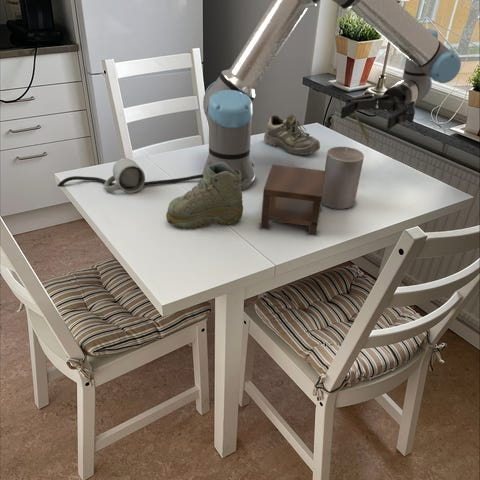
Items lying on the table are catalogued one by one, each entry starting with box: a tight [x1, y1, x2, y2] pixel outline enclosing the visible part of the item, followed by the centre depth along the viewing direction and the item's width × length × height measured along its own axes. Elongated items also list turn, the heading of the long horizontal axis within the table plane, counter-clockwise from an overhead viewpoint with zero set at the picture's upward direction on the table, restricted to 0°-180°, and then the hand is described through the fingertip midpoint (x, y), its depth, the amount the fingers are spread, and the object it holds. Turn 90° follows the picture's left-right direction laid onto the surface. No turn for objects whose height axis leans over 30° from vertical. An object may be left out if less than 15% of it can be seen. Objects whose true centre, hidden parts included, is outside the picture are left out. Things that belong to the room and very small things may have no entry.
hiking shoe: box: [263, 113, 321, 155], centre depth 168 cm, size 9×21×12 cm, turn 51°
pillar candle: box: [321, 146, 365, 210], centre depth 136 cm, size 10×10×15 cm
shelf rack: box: [260, 164, 326, 236], centre depth 130 cm, size 14×15×11 cm
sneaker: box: [165, 162, 244, 229], centre depth 125 cm, size 11×19×15 cm, turn 88°
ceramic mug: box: [103, 157, 146, 194], centre depth 140 cm, size 11×8×8 cm
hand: (365, 118), depth 134 cm, fingers open, 13 cm apart
